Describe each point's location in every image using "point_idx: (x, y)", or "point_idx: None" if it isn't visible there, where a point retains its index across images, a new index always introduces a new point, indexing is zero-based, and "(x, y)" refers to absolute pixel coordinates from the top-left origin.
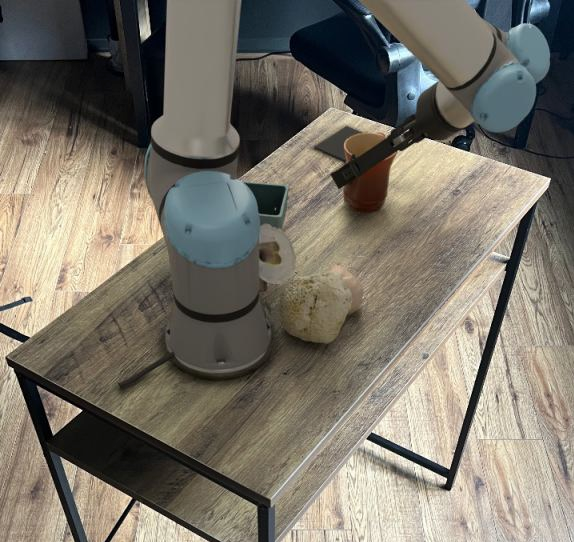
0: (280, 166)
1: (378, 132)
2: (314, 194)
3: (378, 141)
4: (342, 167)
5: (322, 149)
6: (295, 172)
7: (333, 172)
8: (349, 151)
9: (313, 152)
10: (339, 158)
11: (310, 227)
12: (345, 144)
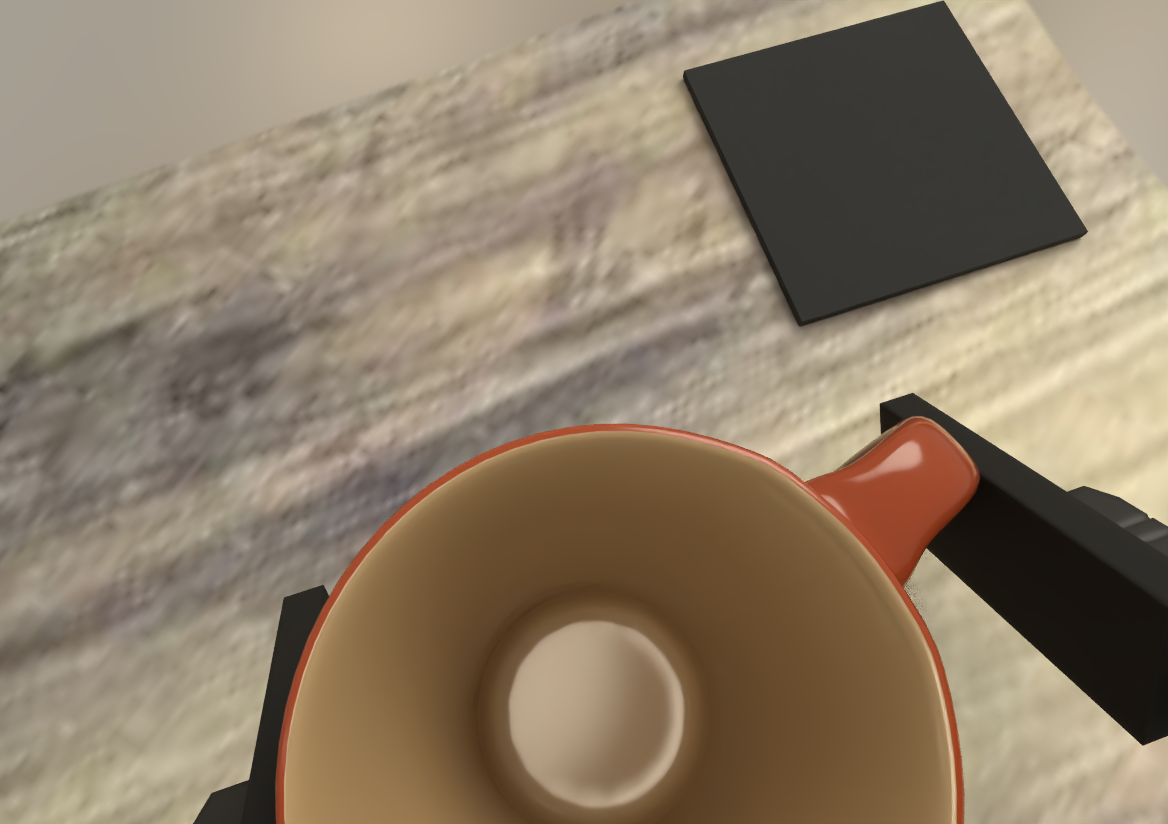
0: (427, 127)
1: (919, 445)
2: (417, 428)
3: (827, 596)
4: (265, 733)
5: (708, 109)
6: (461, 205)
7: (278, 628)
8: (473, 555)
9: (657, 104)
10: (748, 213)
11: (166, 717)
12: (384, 549)
